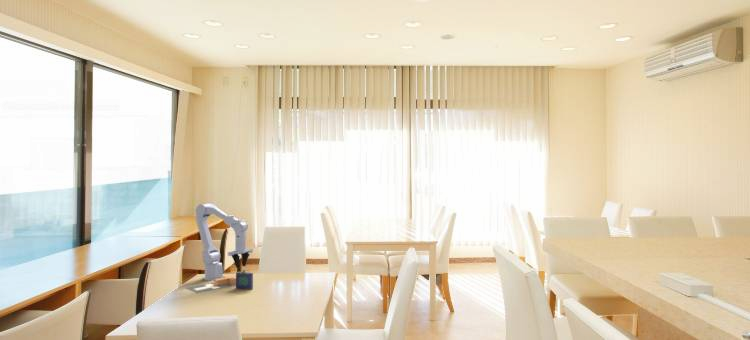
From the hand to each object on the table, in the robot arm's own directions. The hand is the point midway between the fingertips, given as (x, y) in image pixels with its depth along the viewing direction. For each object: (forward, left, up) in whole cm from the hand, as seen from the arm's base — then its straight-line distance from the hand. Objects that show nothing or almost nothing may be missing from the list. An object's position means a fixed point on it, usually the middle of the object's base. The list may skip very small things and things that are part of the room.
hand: (240, 266), depth 262 cm
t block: (+10, 0, -8) cm, 13 cm away
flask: (+7, +16, -9) cm, 20 cm away
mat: (+14, 0, -8) cm, 16 cm away
